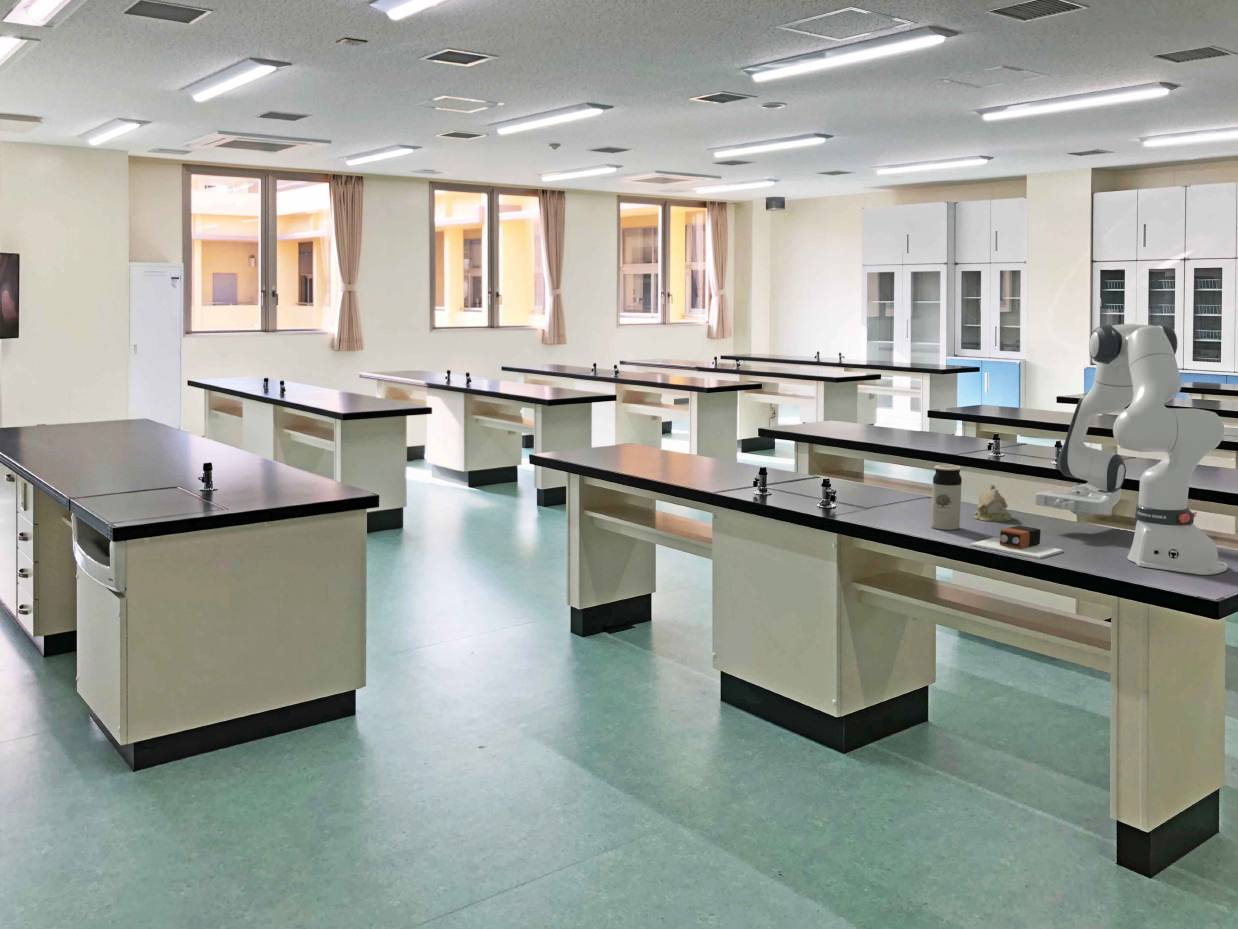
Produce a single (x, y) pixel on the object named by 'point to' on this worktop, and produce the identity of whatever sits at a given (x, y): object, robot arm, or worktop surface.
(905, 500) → the worktop surface
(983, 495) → the ceramic model
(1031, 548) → the bench mat
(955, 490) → the travel mug
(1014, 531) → the battery
